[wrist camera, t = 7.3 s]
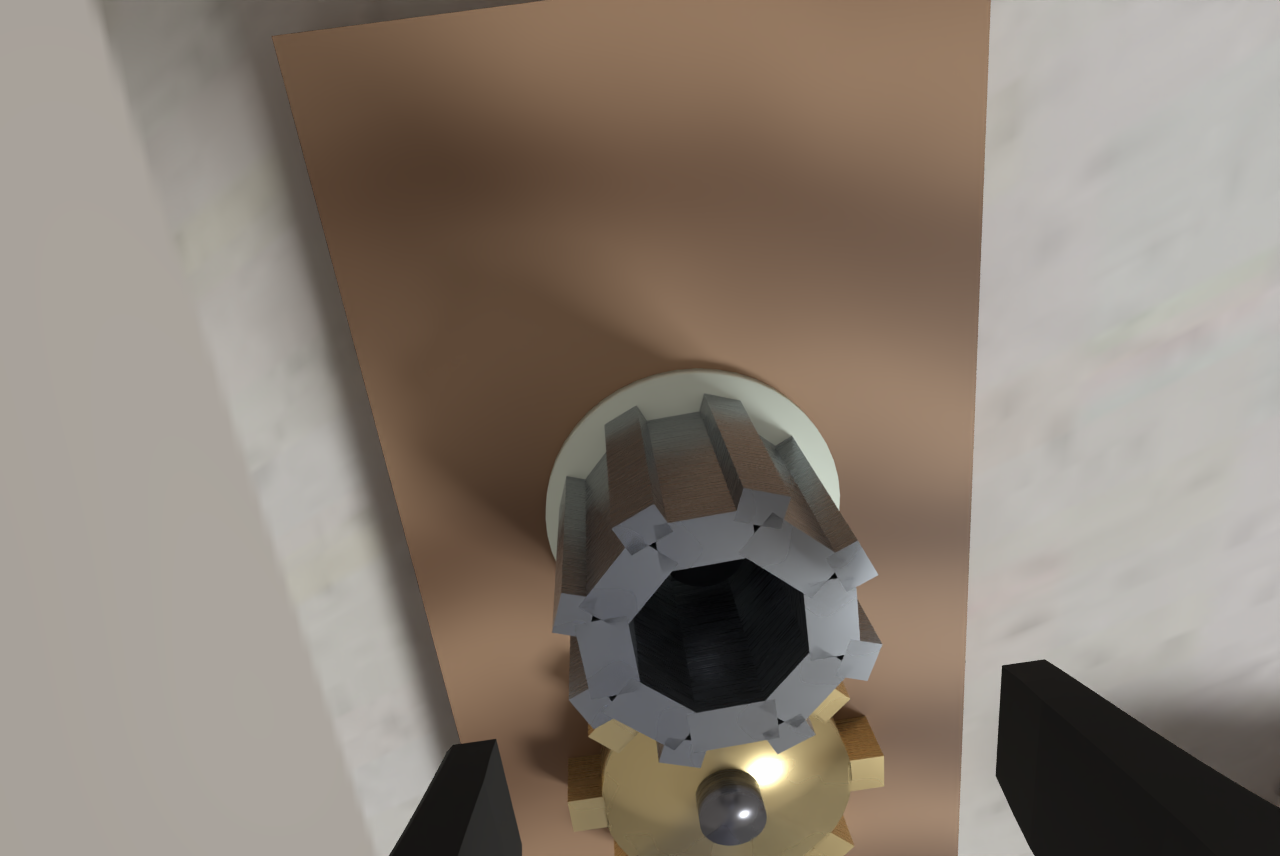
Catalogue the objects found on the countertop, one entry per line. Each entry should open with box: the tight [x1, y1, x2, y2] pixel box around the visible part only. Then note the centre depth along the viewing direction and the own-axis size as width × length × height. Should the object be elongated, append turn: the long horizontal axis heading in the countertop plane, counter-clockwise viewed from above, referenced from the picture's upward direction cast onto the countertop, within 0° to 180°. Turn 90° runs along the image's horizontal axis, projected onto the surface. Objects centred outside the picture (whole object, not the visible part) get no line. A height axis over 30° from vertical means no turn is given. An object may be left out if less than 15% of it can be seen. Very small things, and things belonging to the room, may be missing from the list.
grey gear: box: [552, 393, 882, 768], centre depth 16 cm, size 6×6×4 cm
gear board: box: [272, 0, 991, 856], centre depth 18 cm, size 23×13×4 cm, turn 7°
